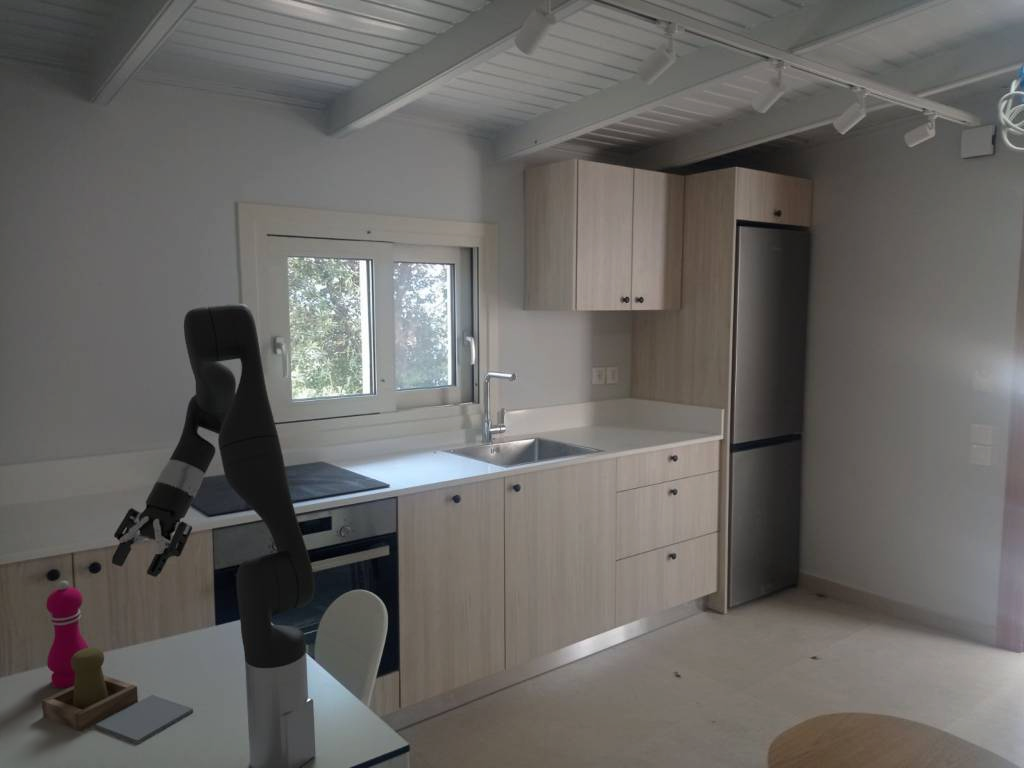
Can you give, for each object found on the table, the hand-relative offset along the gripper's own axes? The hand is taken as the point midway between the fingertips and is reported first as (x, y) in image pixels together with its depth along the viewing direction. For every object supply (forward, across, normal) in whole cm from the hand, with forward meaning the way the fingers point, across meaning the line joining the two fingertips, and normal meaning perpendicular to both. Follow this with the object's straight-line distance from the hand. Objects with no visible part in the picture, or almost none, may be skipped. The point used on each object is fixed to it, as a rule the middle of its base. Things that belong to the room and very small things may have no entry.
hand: (133, 570), depth 137 cm
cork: (+24, -2, +9) cm, 26 cm away
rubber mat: (+22, +10, +9) cm, 26 cm away
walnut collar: (+24, -2, +9) cm, 26 cm away
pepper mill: (+22, -16, +15) cm, 31 cm away
